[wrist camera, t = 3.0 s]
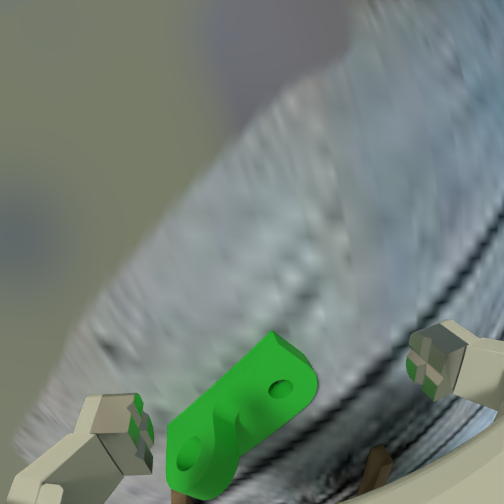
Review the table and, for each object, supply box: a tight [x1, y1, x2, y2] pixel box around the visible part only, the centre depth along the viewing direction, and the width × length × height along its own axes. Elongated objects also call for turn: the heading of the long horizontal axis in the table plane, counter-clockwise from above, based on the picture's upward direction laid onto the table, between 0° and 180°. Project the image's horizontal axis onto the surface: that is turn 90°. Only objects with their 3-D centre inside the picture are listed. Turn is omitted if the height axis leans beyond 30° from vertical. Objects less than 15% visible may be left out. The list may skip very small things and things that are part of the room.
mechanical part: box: [166, 330, 317, 500], centre depth 19 cm, size 12×6×8 cm, turn 137°
